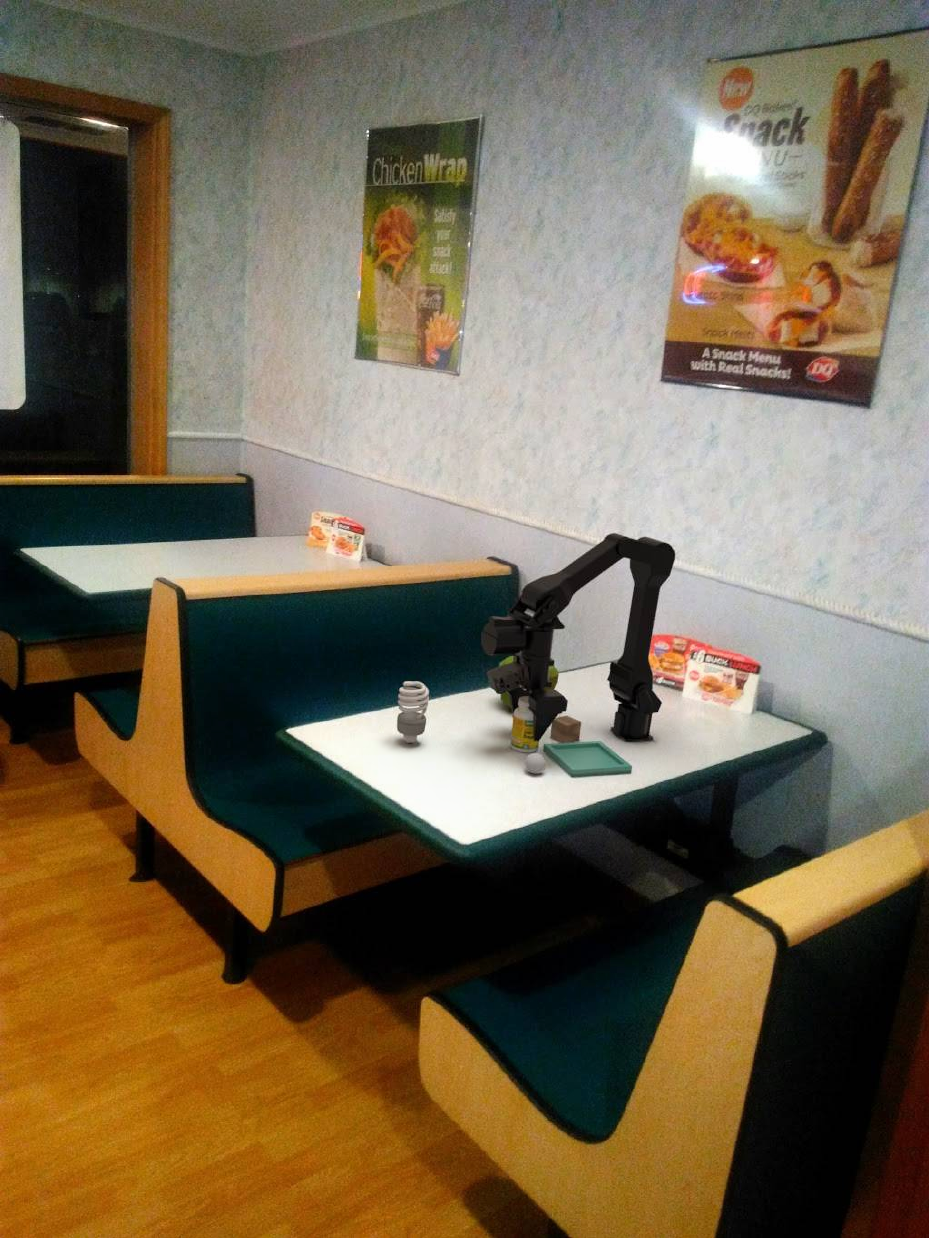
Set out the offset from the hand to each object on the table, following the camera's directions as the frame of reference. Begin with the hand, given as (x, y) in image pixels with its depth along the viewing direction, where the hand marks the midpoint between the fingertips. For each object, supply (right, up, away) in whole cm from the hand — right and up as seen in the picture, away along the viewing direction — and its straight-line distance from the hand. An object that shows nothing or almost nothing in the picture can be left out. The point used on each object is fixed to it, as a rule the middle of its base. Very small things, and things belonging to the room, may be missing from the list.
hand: (526, 731), depth 182 cm
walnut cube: (+8, -2, +7) cm, 11 cm away
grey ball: (+1, -6, -10) cm, 12 cm away
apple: (+1, +2, +22) cm, 22 cm away
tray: (+11, -5, -3) cm, 12 cm away
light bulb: (-22, -2, -2) cm, 22 cm away
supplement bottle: (0, -3, +1) cm, 4 cm away
